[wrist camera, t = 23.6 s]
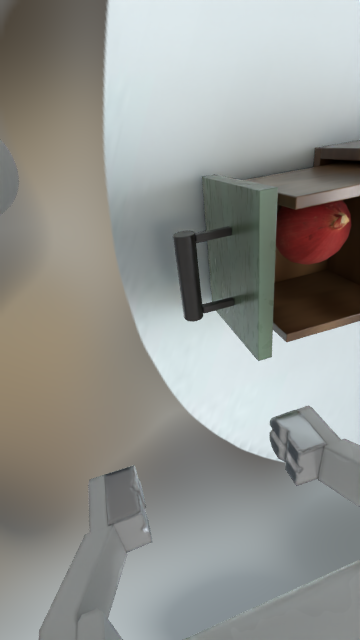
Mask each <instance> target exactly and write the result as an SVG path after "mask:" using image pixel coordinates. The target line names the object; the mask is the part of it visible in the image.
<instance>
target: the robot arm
mask: <svg viewBox="0 0 360 640" xmlns="http://www.w3.org/2000/svg"><path fill="white" fill-rule="evenodd" d="M270 426H271V427H272V431H271V432H270V442H271V445H272V448H273V450H274V452H275V454H276V455H277V457H278V458H279V459H280V460H282V461H284V462H286V471H287V473H288V474H289V476H290V477H291V479H292V480H293V482H294V483H295V485H296V486H298V485H301V484H303V483H307V482H309V481H312V480H315V479H318V480H319V481H321V482H322V483H324V484H325V485H327V486H328V487H330V488H331V489H333V490H334V491H336V492H337V493H339V494H340V495H342V496H343V497H345V498H346V499H348V500H349V501H351V502H352V503H354V504H355V505H357V506H358V507H360V445H358V444H356V443H353V442H351V441H349V440H347V439H342V440H341V439H340V438H339V437H338V436H337V435H336V434H335V432H334V431H333V430H332V429H331V428H330V427H329V426H328V425H327V424H326V423H325V421H324V420H323V419H322V418H321V417H320V416H319V415H318V414H317V413H316V412H315V410H314V409H313V408H312V407H310V406H305V407H303V408H300V409H297V410H293V411H290V412H287V413H284V414H282V415H279V416H276V417H273V418H271V420H270ZM88 486H89V487H88V488H89V526H90V533H88V534H86V535H85V536H84V538H83V540H82V542H81V544H80V546H79V548H78V551H77V553H76V555H75V557H74V559H73V561H72V563H71V565H70V568H69V569H68V571H67V573H66V576H65V578H64V580H63V582H62V584H61V586H60V588H59V590H58V592H57V594H56V597H55V599H54V601H53V603H52V605H51V607H50V609H49V611H48V613H47V615H46V617H45V619H44V622H43V624H42V626H41V628H40V630H39V640H123V639H122V638H121V636H120V635H119V633H118V632H117V631H116V629H115V628H114V626H113V625H112V624H111V622H110V621H109V620H108V617H109V613H110V610H111V607H112V603H113V600H114V597H115V594H116V590H117V587H118V584H119V580H120V577H121V574H122V570H123V567H124V564H125V561H126V557H127V552H130V551H132V550H135V549H137V548H139V547H142V546H144V545H146V544H149V543H151V542H152V538H151V532H150V526H149V521H148V518H147V515H146V512H145V508H146V505H145V500H144V495H143V491H142V487H141V483H140V480H139V478H138V477H137V472H136V468H135V466H134V465H133V466H130V467H127V468H124V469H121V470H118V471H115V472H112V473H109V474H105V475H102V476H99V477H96V478H93V479H90V480H89V485H88ZM184 640H360V560H358V561H356V562H354V563H351V564H349V565H347V566H345V567H343V568H340V569H338V570H336V571H334V572H331V573H329V574H327V575H325V576H323V577H321V578H318V579H316V580H314V581H312V582H309V583H307V584H305V585H303V586H301V587H298V588H296V589H294V590H292V591H290V592H287V593H285V594H283V595H281V596H279V597H276V598H274V599H272V600H270V601H268V602H265V603H263V604H261V605H259V606H257V607H254V608H252V609H250V610H248V611H246V612H243V613H241V614H239V615H237V616H235V617H232V618H230V619H228V620H226V621H224V622H222V623H219V624H217V625H215V626H212V627H210V628H208V629H206V630H204V631H202V632H199V633H197V634H195V635H193V636H190V637H188V638H186V639H184Z"/></svg>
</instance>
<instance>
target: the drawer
mask: <svg viewBox="0 0 360 640" xmlns="http://www.w3.org/2000/svg"><path fill="white" fill-rule="evenodd" d="M202 185H203V197H204V210H205V222H206V231H203V232H198V233H194V232H193V231H181V232H177V233H175V234H174V235H173V241H174V248H175V255H176V262H177V269H178V277H179V284H180V291H181V298H182V305H183V312H184V318H185V319H186V320H187V321H198V320H200V319H201V318H202V317H203V313H208V312H211V311H215V310H216V311H217V312H218V314H219V315H220V316H221V317H222V318H223V319H224V321H225V322H226V323H227V324H228V325H229V327H230V328H231V329H232V330H233V331H234V333H235V334H236V335H237V336H238V337H239V339H240V340H241V341H242V342H243V343H244V345H245V346H246V347H247V348H248V349H249V351H250V352H251V353H252V354H253V355H254V357H255V358H256V359H257V360H258V361H260V360H263V359H266V358H270V357H272V332H273V330H274V331H275V332H276V333H277V334H278V335H279V336H280V337H281V338H282V339H284V340H285V341H286V342H289V341H293V340H296V339H299V338H303V337H306V336H310V335H313V334H317V333H320V332H323V331H327V330H330V329H334V328H337V327H340V326H344V325H347V324H351V323H354V322H357V321H360V163H355V162H338V163H333V164H327V165H322V166H316V167H311V168H306V169H300V170H295V171H289V172H284V173H279V174H273V175H268V176H262V177H257V178H252V179H246V180H239V179H235V178H230V177H225V176H220V175H215V174H214V175H208V176H203V177H202ZM340 200H343V201H344V202H345V203H346V205H347V207H348V209H349V212H350V214H351V229H350V232H349V236H348V238H347V240H346V241H345V243H344V244H343V246H342V247H341V249H340V250H339V251H338V252H337V253H335V254H334V255H332V256H331V257H329V258H328V259H326V260H324V261H322V262H319V263H314V264H309V265H307V264H299V263H294V262H291V261H289V260H288V259H287V258H285V257H284V256H283V255H281V253H280V252H279V250H278V248H277V247H276V224H277V214H278V212H279V210H280V208H281V206H285V207H288V208H292V209H295V210H297V209H302V208H306V207H311V206H316V205H321V204H325V203H330V202H335V201H340ZM204 241H207V246H208V258H209V271H210V283H211V295H212V302H210V303H206V304H202V298H201V288H200V278H199V269H198V259H197V249H196V243H199V242H204Z"/></svg>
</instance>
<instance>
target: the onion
mask: <svg viewBox="0 0 360 640" xmlns="http://www.w3.org/2000/svg"><path fill="white" fill-rule="evenodd" d="M350 229H351V214H350V212H349V209H348V207H347V205H346V203H345V202H344V201H343V200H340V201H335V202H330V203H325V204H321V205H316V206H311V207H306V208H302V209H297V210H295V209H292V208H288V207H285V206H281V208H280V210H279V212H278V214H277V224H276V247H277V248H278V250H279V252H280V253H281V255H283V256H284V257H285V258H287V259H288V260H289V261H291V262H294V263H299V264H307V265H309V264H314V263H319V262H322V261H324V260H326V259H328V258H329V257H331V256H332V255H334V254H335V253H337V252H338V251H339V250H340V249H341V247H342V246H343V244H344V243H345V241H346V240H347V238H348V236H349V232H350Z"/></svg>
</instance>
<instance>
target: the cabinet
mask: <svg viewBox="0 0 360 640" xmlns="http://www.w3.org/2000/svg"><path fill="white" fill-rule="evenodd" d="M338 162H355V163H360V140H357V141H352V142H346V143H340V144H334V145H328V146H323V147H317V148H315V154H314V165H313V167H316V166H322V165H327V164H333V163H338Z"/></svg>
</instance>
